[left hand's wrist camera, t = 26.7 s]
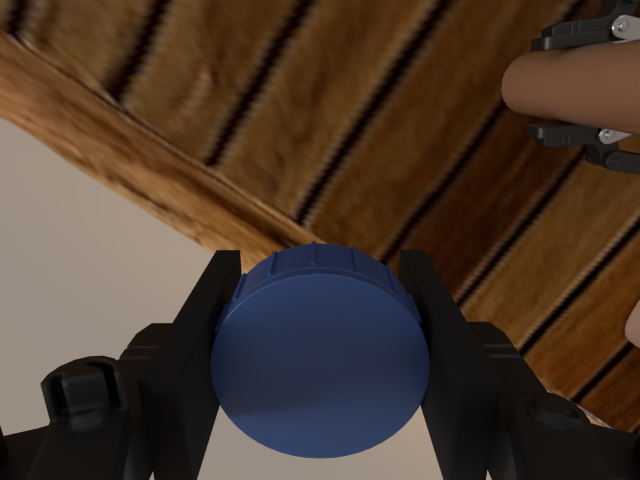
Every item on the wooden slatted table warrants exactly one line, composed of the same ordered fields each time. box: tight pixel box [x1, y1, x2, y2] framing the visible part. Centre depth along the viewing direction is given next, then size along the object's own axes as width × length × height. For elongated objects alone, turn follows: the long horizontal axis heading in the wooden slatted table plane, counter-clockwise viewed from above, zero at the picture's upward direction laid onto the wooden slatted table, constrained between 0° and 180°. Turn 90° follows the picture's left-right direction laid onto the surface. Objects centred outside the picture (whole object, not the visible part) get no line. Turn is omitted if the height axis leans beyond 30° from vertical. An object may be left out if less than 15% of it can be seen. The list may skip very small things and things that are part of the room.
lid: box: [210, 241, 430, 458], centre depth 11 cm, size 5×5×2 cm
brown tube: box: [501, 38, 640, 136], centre depth 25 cm, size 5×5×19 cm
